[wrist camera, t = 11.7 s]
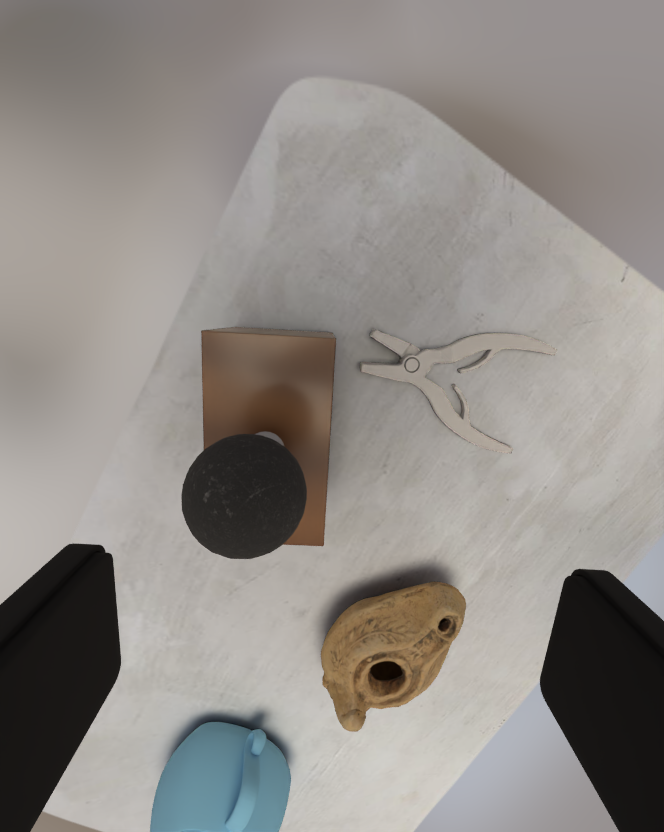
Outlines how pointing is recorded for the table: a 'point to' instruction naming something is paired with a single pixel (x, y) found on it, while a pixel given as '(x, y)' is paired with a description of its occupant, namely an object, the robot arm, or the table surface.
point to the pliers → (419, 363)
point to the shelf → (275, 401)
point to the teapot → (222, 783)
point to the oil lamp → (389, 648)
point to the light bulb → (244, 495)
